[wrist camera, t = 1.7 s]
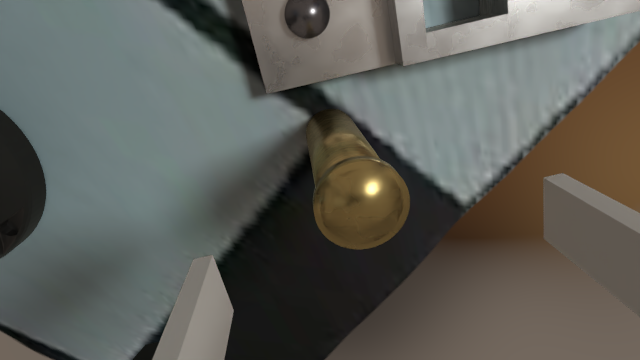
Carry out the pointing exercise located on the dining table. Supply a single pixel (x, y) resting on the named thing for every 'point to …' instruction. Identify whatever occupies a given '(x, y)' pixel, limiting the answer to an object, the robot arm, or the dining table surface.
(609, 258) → the robot arm
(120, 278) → the dining table surface
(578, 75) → the dining table surface
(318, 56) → the slotted metal plate
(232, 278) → the dining table surface
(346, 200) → the brass pin
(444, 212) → the dining table surface
